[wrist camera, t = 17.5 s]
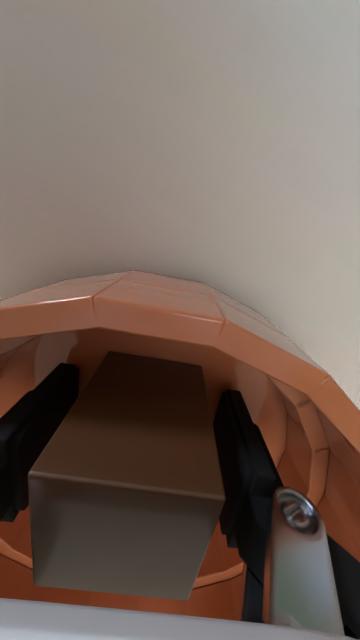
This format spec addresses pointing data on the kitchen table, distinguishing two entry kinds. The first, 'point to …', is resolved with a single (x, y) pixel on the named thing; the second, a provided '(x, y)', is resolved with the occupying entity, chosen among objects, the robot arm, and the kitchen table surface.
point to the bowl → (220, 374)
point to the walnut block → (128, 483)
